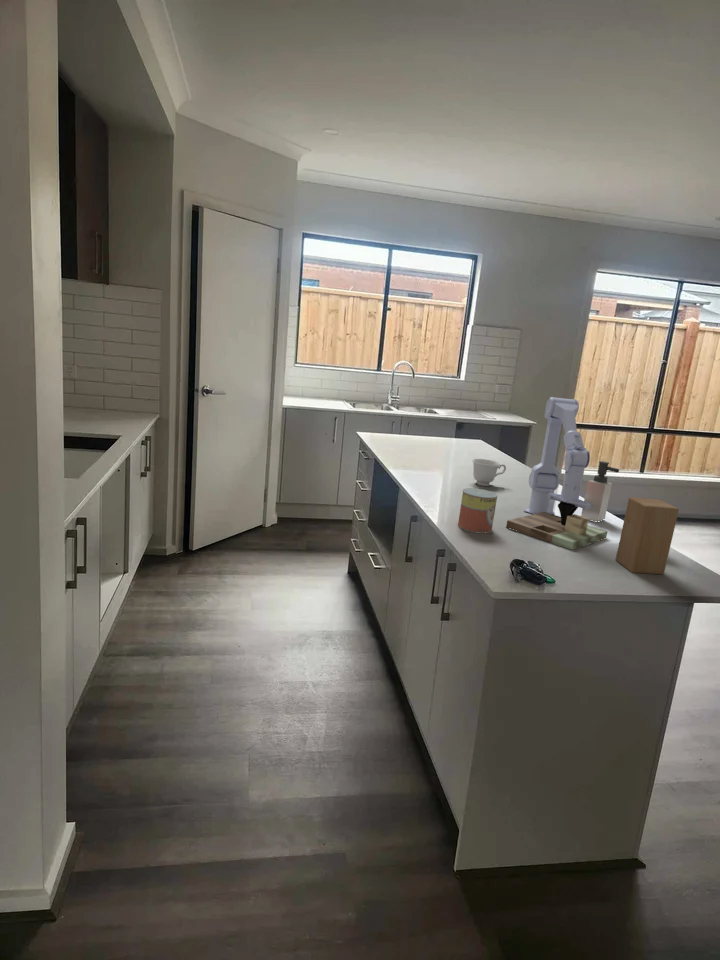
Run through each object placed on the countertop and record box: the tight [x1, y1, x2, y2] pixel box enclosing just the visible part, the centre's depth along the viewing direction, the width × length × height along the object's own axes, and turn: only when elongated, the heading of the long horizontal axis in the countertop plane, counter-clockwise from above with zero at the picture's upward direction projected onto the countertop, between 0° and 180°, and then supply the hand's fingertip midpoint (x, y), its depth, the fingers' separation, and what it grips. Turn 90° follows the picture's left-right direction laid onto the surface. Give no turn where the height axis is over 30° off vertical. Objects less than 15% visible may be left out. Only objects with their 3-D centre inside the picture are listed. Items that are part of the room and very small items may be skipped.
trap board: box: [505, 512, 608, 551], centre depth 209 cm, size 24×24×2 cm
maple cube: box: [565, 513, 589, 535], centre depth 204 cm, size 5×5×5 cm
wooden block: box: [615, 496, 679, 575], centre depth 181 cm, size 10×10×20 cm
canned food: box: [457, 487, 498, 534], centre depth 204 cm, size 11×11×12 cm
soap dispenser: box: [580, 460, 620, 522], centre depth 229 cm, size 6×9×22 cm
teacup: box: [472, 458, 507, 487], centre depth 270 cm, size 12×15×10 cm
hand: (564, 524), depth 207 cm, fingers closed
